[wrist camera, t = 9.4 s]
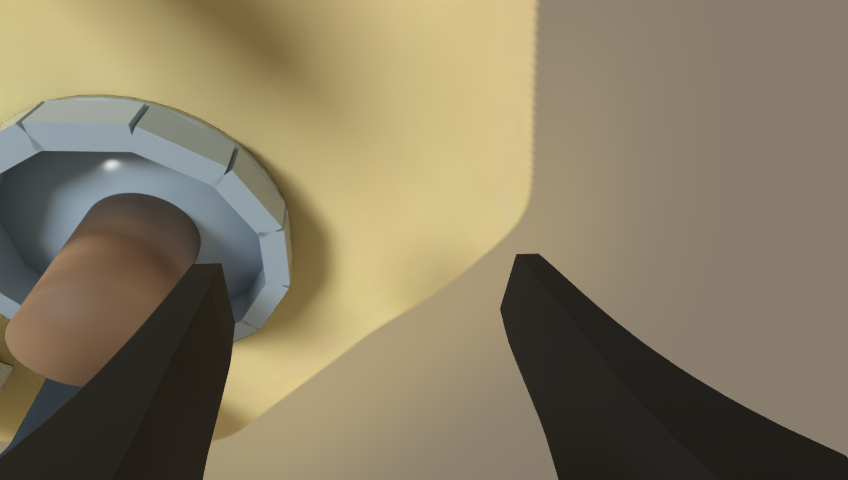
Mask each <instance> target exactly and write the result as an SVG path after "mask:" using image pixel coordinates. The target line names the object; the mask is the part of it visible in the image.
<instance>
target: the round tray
mask: <svg viewBox="0 0 848 480" xmlns="http://www.w3.org/2000/svg"><path fill="white" fill-rule="evenodd" d="M120 193H141V194H147V195H151V196H155V197H158V198H161V199H163V200H166V201H168V202H170V203H172V204H173V205H175V206H177V207H178V208H180V209H181V210H182V211H184V212H185V213H186V214H187V215H188V216H189V217H190V218H191V219H192V220H193V222H194V223H195V225H196V226H197V228H198V231H199V233H200V237H201V247H200V251H199V254H198V257H197V260H196V263H195V264H213V263H222V268H223V272H224V277H225V281H226V285H227V290H228V294H229V299H230V303H231V307H232V312H233V316H234V320H235V329H234V338H233V342H235V341H237V340H239V339H242V338H244V337H246V336H248V335H250V334H253V333H255V332H257V331H258V328H259V329H261V328H262V326H263V325H264V324H265V322H266V321H267V319H268V318H269V316H270V315H271V314H272V312H273V311H274V309H275V308H276V306H277V305H278V304H279V302H280V301H281V299H282V298H283V296H284V295H285V294H286V292H287V291H288V289H289V285H290V280H291V268H292V250H291V225H290V220H289V214H288V210H287V207H286V205H285V202H284V199H283V197H282V195H281V193H280V191H279V189H278V187H277V185H276V183H275V182H274V181H273V179H272V178H271V176H270V175H269V174H268V172H267V171H266V169H265V168H264V167H263V166H262V165H261V164H260V163H259V162H258V161H257V160H256V158H255V157H254V156H253V155H252V154H251V153H249V152H248V151H247V150H246V149H245V148H244V147H242V146H241V145H240V144H239V143H238V142H237V141H235V140H234V139H232V138H231V137H229V136H228V135H226V134H225V133H224V132H222V131H221V130H219V129H217V128H216V127H214V126H212V125H210V124H208V123H206V122H205V121H203V120H201V119H199V118H197V117H194V116H192V115H190V114H187V113H185V112H183V111H180V110H178V109H175V108H172V107H169V106H165V105H162V104H159V103H156V102H152V101H147V100H142V99H137V98H132V97H125V96H114V95H78V96H71V97H65V98H58V99H54V100H48V101H46V102H43V101H42V102H40V103H38V104H36V105H35V106H32V107H30V108H28V109H26V110H24V111H22V112H20V113H18V114H16V115H15V116H13V117H12V118H11V119H9V120H8V121H6V122H5V123H3V124H2V125H0V314H1V315H3V316H5V317H6V318H8V319H10V320H11V319H12V318H13V316H14V315H15V313H16V312H17V310H18V309H19V308H20V306H21V305H22V303H23V302H24V301H25V299H26V298H27V296H28V295H29V294H30V292H31V291H32V289H33V288H34V287H35V285H36V284H37V282H38V281H39V280H40V278H41V277H42V275H43V274H44V273H45V271H46V270H47V268H48V267H49V266H50V264H51V263H52V261H53V260H54V259H55V257H56V256H57V254H58V253H59V251H60V250H61V249H62V247H63V246H64V244H65V243H66V242H67V240H68V239H69V237H70V236H71V235H72V233H73V232H74V230H75V229H76V228H77V226H78V225H79V223H80V222H81V221H82V219H83V218H84V216H85V215H86V214H87V212H88V211H89V209H90V208H91V207H92V206H93V205H94V204H95V203H96V202H98V201H99V200H101V199H103V198H105V197H108V196H111V195H115V194H120Z"/></svg>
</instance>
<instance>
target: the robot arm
mask: <svg viewBox="0 0 848 480" xmlns="http://www.w3.org/2000/svg"><path fill="white" fill-rule="evenodd" d="M500 310H501V314H502V318H503V322H504V327H505V330H506V334H507V338H508V341H509V344H510V347H511V350H512V352H513V355H514V357H515V360H516V362H517V365H518V367H519V370H520V372H521V375H522V377H523V379H524V382H525V384H526V387H527V389H528V392H529V394H530V396H531V399H532V401H533V404H534V406H535V409H536V411H537V414H538V416H539V419H540V421H541V424H542V427H543V429H544V432H545V435H546V438H547V442H548V445H549V448H550V452H551V455H552V458H553V462H554V465H555V469H556V472H557V476H558V479H559V480H848V458H847V457H846V456H845V455H843V454H841V453H839V452H837V451H835V450H833V449H830V448H828V447H826V446H824V445H822V444H819V443H817V442H815V441H813V440H811V439H809V438H807V437H804V436H802V435H800V434H798V433H796V432H794V431H791V430H789V429H787V428H785V427H783V426H781V425H779V424H777V423H775V422H773V421H771V420H769V419H767V418H765V417H764V416H762V415H760V414H758V413H756V412H754V411H752V410H750V409H748V408H746V407H744V406H742V405H741V404H739V403H737V402H735V401H734V400H732V399H729V398H728V397H726V396H724V395H723V394H721V393H719V392H718V391H716V390H715V389H713V388H711V387H710V386H708V385H706V384H704V383H703V382H701V381H700V380H698V379H696V378H694V377H693V376H691V375H690V374H688V373H687V372H685V371H684V370H682V369H680V368H679V367H677V366H676V365H674V364H673V363H671V362H670V361H669V360H667V359H666V358H664V357H663V356H661V355H660V354H658V353H657V352H655V351H654V350H653V349H651V348H650V347H648V346H647V345H646V344H644V343H643V342H642V341H640V340H639V339H638V338H636V337H635V336H634V335H632V334H631V333H630V332H629V331H627V330H626V329H625V328H623V327H622V326H621V325H620V324H618V323H617V322H616V321H615V320H613V319H612V318H611V317H610V316H609V315H608V314H606V313H605V312H604V311H603V310H601V309H600V308H599V307H598V306H597V305H595V304H594V303H593V302H592V301H591V300H590V299H589V298H588V297H587V296H585V295H584V294H583V293H582V292H581V291H580V290H578V288H576V287H575V286H574V285H573V284H572V283H571V282H570V281H569V280H568V279H566V278H565V277H564V276H563V275H562V274H561V273H560V272H558V270H557V269H555V268H554V267H553V266H552V265H551V264H550V263H549V262H548V261H546V260H545V259H544V258H543V257H542V256H541V255H539V254H517V255H516V257H515V261H514V264H513V267H512V271H511V274H510V278H509V281H508V284H507V288H506V291H505V294H504V298H503V301H502V304H501V308H500ZM234 329H235V320H234V316H233V312H232V307H231V303H230V299H229V294H228V290H227V285H226V281H225V277H224V272H223V268H222V263H213V264H193V265H192V266H190V267H189V268H188V270H187V271H186V272H185V273H184V275H183V276H182V277H181V278H180V280H179V281H178V282H177V283H176V285H175V286H174V287H173V288H172V290H171V291H170V292H169V293H168V295H167V296H166V297H165V298H164V299H163V301H162V302H161V303H160V304H159V305H158V307H157V308H156V309H155V310H154V311H153V313H152V314H151V315H150V316H149V317H148V318H147V319H146V321H145V322H144V323H143V324H142V325H141V326H140V327H139V329H138V330H137V331H136V332H135V333H134V334H133V335H132V337H131V338H130V339H129V340H128V341H127V342H126V343H125V344H124V345H123V346H122V347H121V348H120V349H119V350H118V351H117V353H116V354H115V355H114V356H113V357H112V358H111V359H110V360H109V361H108V362H107V363H106V364H105V365H104V366H103V367H102V368H101V369H100V370H99V371H98V372H97V373H96V374H95V375H94V376H93V377H92V378H91V379H90V380H89V381H88V382H87V383H86V384H85V385H84V386H83V387H82V388H81V389H80V390H79V391H78V392H77V393H76V394H74V395H73V396H72V397H71V398H70V399H69V400H68V401H67V402H66V403H65V404H64V405H62V406H61V407H60V408H59V409H58V410H57V411H56V412H55V413H54V414H52V415H51V416H50V417H49V418H48V419H47V420H46V421H44V422H43V423H42V424H41V425H40V426H38V427H37V428H36V429H35V430H34V431H32V432H31V433H30V434H29V435H28V436H27V437H25V438H24V439H23V440H22V441H21V442H19V443H18V444H17V445H16V446H14V447H13V448H12V449H11V450H10V451H8V452H7V453H6V454H5V455H3V456H2V457H1V458H0V480H203V475H204V470H205V465H206V460H207V455H208V451H209V447H210V443H211V439H212V435H213V431H214V427H215V423H216V419H217V415H218V411H219V407H220V404H221V400H222V396H223V392H224V387H225V383H226V379H227V375H228V371H229V367H230V362H231V355H232V347H233V338H234Z"/></svg>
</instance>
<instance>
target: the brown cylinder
mask: <svg viewBox="0 0 848 480" xmlns="http://www.w3.org/2000/svg"><path fill="white" fill-rule="evenodd" d="M200 247H201V237H200V233H199V231H198V228H197V226H196V225H195V223H194V222H193V220H192V219H191V218H190V217H189V216H188V215H187V214H186V213H185V212H184V211H182V210H181V209H180V208H178V207H177V206H175V205H173V204H172V203H170V202H168V201H166V200H163V199H161V198H158V197H155V196H151V195H147V194H141V193H120V194H115V195H111V196H108V197H105V198H103V199H101V200H99V201H98V202H96V203H95V204H94V205H93V206H92V207H91V208H90V209H89V211H88V212H87V214H86V215H85V216H84V218H83V219H82V221H81V222H80V223H79V225H78V226H77V228H76V229H75V230H74V232H73V233H72V235H71V236H70V237H69V239H68V240H67V242H66V243H65V244H64V246H63V247H62V249H61V250H60V251H59V253H58V254H57V256H56V257H55V259H54V260H53V261H52V263H51V264H50V266H49V267H48V268H47V270H46V271H45V273H44V274H43V275H42V277H41V278H40V280H39V281H38V282H37V284H36V285H35V287H34V288H33V289H32V291H31V292H30V294H29V295H28V296H27V298H26V299H25V301H24V302H23V303H22V305H21V306H20V308H19V309H18V310H17V312H16V313H15V315H14V316H13V318H12V319H11V320H10V322H9V323H8V325H7V327H6V330H5V341H6V345H7V347H8V349H9V351H10V352H11V354H12V355H13V356H14V357H15V358H16V359H17V360H18V361H19V362H20V363H21V364H22V365H24V366H25V367H26V368H28V369H30V370H31V371H33V372H35V373H37V374H39V375H41V376H43V377H46V378H48V379H51V380H54V381H57V382H60V383H64V384H68V385H73V386H79V387H83V386H84V385H85V384H86V383H87V382H88V381H89V380H90V379H91V378H92V377H93V376H94V375H95V374H96V373H97V372H98V371H99V370H100V369H101V368H102V367H103V366H104V365H105V364H106V363H107V362H108V361H109V360H110V359H111V358H112V357H113V356H114V355H115V354H116V353H117V351H118V350H119V349H120V348H121V347H122V346H123V345H124V344H125V343H126V342H127V341H128V340H129V339H130V338H131V337H132V335H133V334H134V333H135V332H136V331H137V330H138V329H139V327H140V326H141V325H142V324H143V323H144V322H145V321H146V319H147V318H148V317H149V316H150V315H151V314H152V313H153V311H154V310H155V309H156V308H157V307H158V305H159V304H160V303H161V302H162V301H163V299H164V298H165V297H166V296H167V295H168V293H169V292H170V291H171V290H172V288H173V287H174V286H175V285H176V283H177V282H178V281H179V280H180V278H181V277H182V276H183V275H184V273H185V272H186V271H187V270H188V268H189V267H190V266H192V265H193V264H195V263H196V260H197V257H198V254H199V251H200Z"/></svg>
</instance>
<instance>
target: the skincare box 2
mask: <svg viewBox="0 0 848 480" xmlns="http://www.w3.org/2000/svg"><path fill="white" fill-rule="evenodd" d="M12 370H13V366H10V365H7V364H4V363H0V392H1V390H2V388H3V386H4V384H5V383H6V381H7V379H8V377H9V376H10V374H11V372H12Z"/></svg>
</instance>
